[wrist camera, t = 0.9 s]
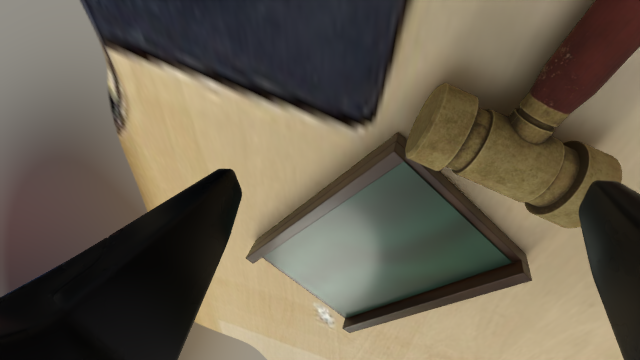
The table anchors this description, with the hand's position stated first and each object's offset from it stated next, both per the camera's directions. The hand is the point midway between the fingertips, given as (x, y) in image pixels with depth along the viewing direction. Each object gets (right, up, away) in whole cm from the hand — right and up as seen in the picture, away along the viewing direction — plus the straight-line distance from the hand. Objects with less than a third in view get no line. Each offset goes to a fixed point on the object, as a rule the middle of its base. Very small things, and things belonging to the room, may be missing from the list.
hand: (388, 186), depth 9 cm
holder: (+3, -6, +21) cm, 22 cm away
